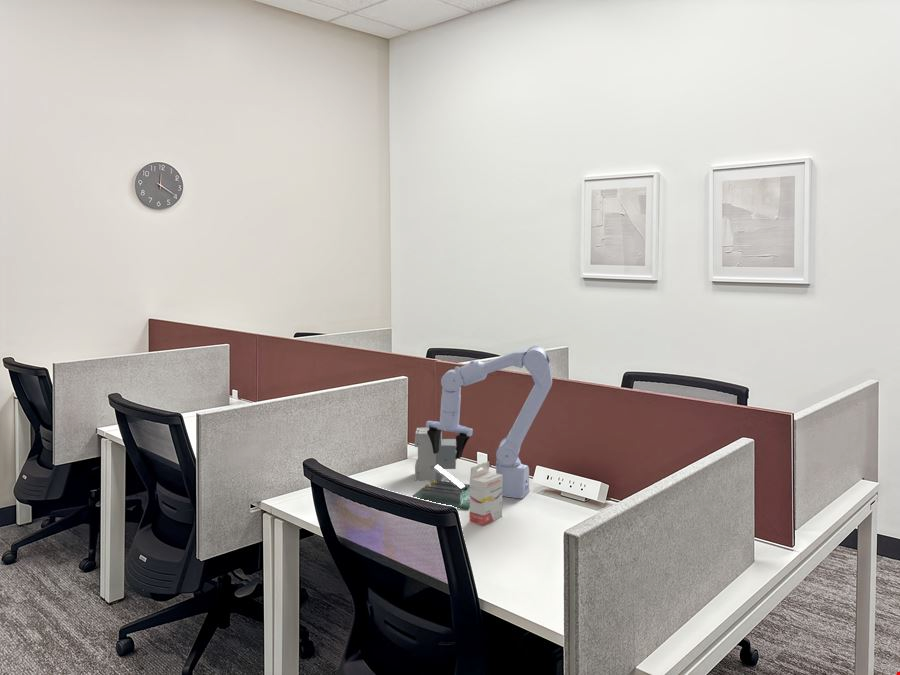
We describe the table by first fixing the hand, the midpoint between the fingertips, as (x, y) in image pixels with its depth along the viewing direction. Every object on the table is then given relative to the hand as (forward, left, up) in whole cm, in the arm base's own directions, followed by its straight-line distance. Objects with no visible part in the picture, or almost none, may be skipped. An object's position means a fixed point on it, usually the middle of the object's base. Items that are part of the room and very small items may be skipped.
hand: (447, 455), depth 208 cm
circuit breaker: (+7, -10, -11) cm, 16 cm away
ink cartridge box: (-19, +18, -11) cm, 28 cm away
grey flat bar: (-3, +7, -5) cm, 9 cm away
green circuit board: (-3, +7, -11) cm, 13 cm away
